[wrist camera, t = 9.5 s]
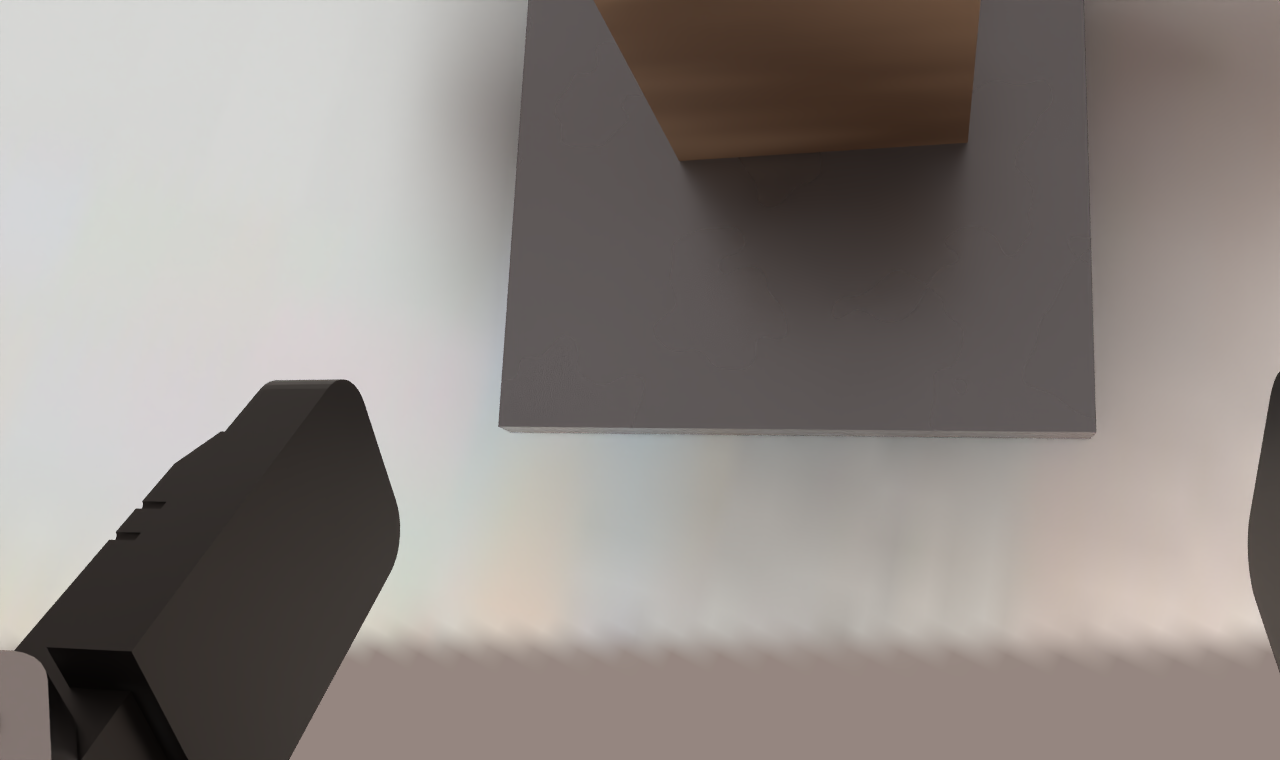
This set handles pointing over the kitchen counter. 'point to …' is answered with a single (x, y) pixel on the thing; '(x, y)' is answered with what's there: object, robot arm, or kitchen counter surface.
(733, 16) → the link block
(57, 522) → the kitchen counter surface
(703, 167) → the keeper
